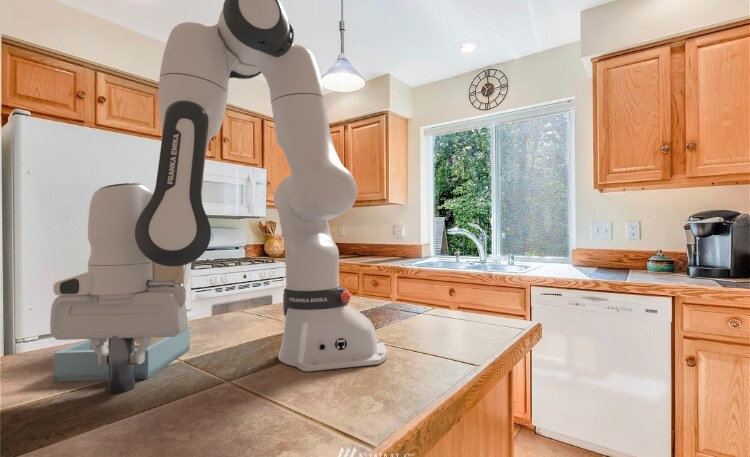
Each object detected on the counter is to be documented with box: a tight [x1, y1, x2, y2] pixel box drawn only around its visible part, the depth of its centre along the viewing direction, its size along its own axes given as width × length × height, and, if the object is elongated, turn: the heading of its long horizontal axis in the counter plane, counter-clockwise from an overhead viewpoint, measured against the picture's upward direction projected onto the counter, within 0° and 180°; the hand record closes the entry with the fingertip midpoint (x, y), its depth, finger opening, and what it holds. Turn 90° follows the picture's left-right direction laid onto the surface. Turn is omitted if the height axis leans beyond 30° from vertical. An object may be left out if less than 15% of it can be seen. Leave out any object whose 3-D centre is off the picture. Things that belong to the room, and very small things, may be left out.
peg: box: [108, 336, 136, 395], centre depth 60 cm, size 4×4×10 cm
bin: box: [53, 326, 191, 383], centre depth 72 cm, size 16×16×5 cm
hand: (121, 363), depth 60 cm, fingers closed on peg, 4 cm apart
